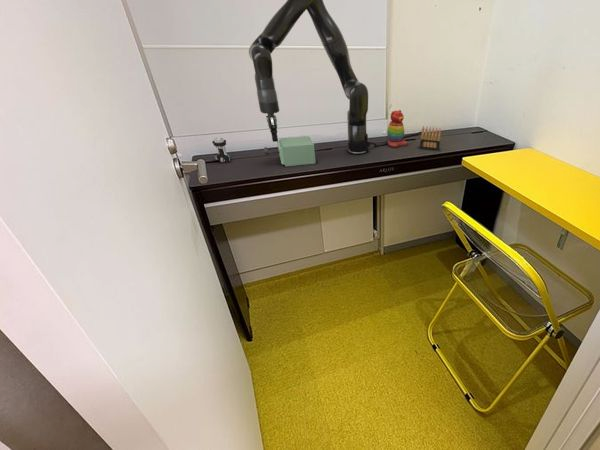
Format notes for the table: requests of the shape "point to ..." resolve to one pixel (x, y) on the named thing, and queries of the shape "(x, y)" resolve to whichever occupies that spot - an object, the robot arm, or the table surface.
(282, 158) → the drawer
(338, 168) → the table surface
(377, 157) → the table surface
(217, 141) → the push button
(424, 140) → the ammunition clip
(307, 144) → the cabinet
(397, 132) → the stacking bear
